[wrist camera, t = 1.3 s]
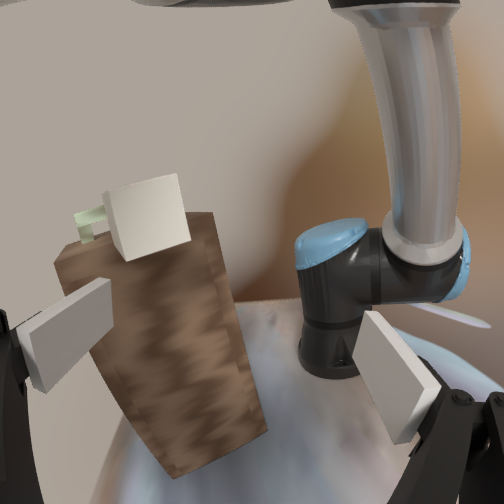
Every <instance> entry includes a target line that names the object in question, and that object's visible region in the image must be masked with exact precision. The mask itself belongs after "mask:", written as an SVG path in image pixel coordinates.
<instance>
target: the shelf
mask: <svg viewBox="0 0 504 504" xmlns="http://www.w3.org/2000/svg"><path fill="white" fill-rule="evenodd" d="M74 215H75V220H76V224H77V228H78V231H79V235H80V239H81V240H80V241H77V242H74V243H71V244H68V245H66V246H65V248H64V249H63V250H62V252H61V253H60V255H59V256H58V257H57V259H56V260H55V262H54V265H55V268H56V271H57V275H58V278H59V281H60V283H61V286H62V289H63V292H64V294H65V297H66V296H68V295H70V294H71V293H73V292H75V291H76V290H78V289H80V288H81V287H83V286H85V285H87V284H88V283H90V282H92V281H93V280H95V279H97V278H99V277H101V278H106V279H111V294H112V310H113V323H114V326H113V327H112V328H111V329H110V330H109V331H108V332H107V333H106V334H105V335H104V336H103V337H102V338H101V339H100V340H99V341H98V342H97V343H96V344H95V345H94V346H93V347H92V348H91V349H90V350H89V352H90V354H91V356H92V358H93V360H94V362H95V364H96V366H97V368H98V370H99V372H100V373H101V375H102V377H103V379H104V381H105V383H106V384H107V386H108V388H109V390H110V391H111V393H112V395H113V396H114V398H115V400H116V401H117V403H118V405H119V406H120V408H121V409H122V411H123V413H124V414H125V416H126V417H127V419H128V420H129V422H130V423H131V425H132V426H133V428H134V429H135V431H136V432H137V433H138V435H139V436H140V438H141V439H142V441H143V442H144V443H145V445H146V446H147V447H148V449H149V450H150V451H151V453H152V454H153V455H154V457H155V458H156V459H157V460H158V462H159V463H160V464H161V465H162V467H163V468H164V469H165V470H166V472H167V473H168V474H169V475H170V476H171V478H172V479H175V478H177V477H180V476H182V475H184V474H187V473H189V472H191V471H193V470H195V469H198V468H200V467H202V466H204V465H206V464H208V463H210V462H212V461H214V460H216V459H218V458H220V457H222V456H224V455H226V454H228V453H230V452H231V451H233V450H235V449H237V448H239V447H241V446H242V445H244V444H246V443H248V442H249V441H251V440H253V439H255V438H256V437H258V436H260V435H261V434H263V433H265V432H266V431H268V430H267V426H266V423H265V419H264V416H263V412H262V409H261V405H260V402H259V398H258V394H257V391H256V387H255V383H254V380H253V376H252V372H251V368H250V365H249V361H248V357H247V353H246V349H245V346H244V342H243V338H242V334H241V330H240V326H239V322H238V318H237V314H236V310H235V306H234V302H233V298H232V294H231V290H230V286H229V282H228V277H227V273H226V269H225V264H224V260H223V256H222V252H221V247H220V243H219V239H218V234H217V230H216V225H215V221H214V216H213V213H212V212H185V215H186V220H187V224H188V229H189V233H190V237H191V241H188V242H185V243H182V244H178V245H175V246H172V247H169V248H166V249H163V250H160V251H157V252H154V253H151V254H148V255H145V256H142V257H139V258H136V259H133V260H130V261H127V262H126V260H125V259H124V258H123V256H122V255H121V254H120V252H119V251H118V249H117V248H116V247H115V245H114V242H113V238H112V235H111V231H107V232H104V233H101V234H98V235H95V236H93V232H92V228H91V224H92V223H94V222H97V221H101V220H104V219H107V215H106V211H105V207H104V205H102V206H99V207H96V208H93V209H89V210H86V211H83V212H80V213H77V214H74Z"/></svg>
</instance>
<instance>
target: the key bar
mask: <svg viewBox="0 0 504 504" xmlns="http://www.w3.org/2000/svg"><path fill="white" fill-rule="evenodd" d="M102 198H103V202H104V207H105V211H106V215H107V219H108V223H109V227H110V231H111V235H112V238H113V242H114V245H115V247H116V248H117V249H118V251H119V252H120V254H121V255H122V256H123V258H124V259H125V260H126V262H127V261H130V260H133V259H136V258H139V257H142V256H145V255H148V254H151V253H154V252H157V251H160V250H163V249H166V248H169V247H172V246H175V245H178V244H182V243H185V242H188V241H191V237H190V233H189V229H188V224H187V220H186V215H185V211H184V206H183V202H182V197H181V192H180V188H179V182H178V177H177V173H174V174H169V175H165V176H161V177H157V178H153V179H149V180H144V181H141V182H137V183H133V184H129V185H125V186H122V187H118V188H114V189H111V190H108V191H107V192H105V193H104V194H102Z"/></svg>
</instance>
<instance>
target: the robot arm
mask: <svg viewBox="0 0 504 504" xmlns="http://www.w3.org/2000/svg"><path fill="white" fill-rule="evenodd" d="M20 1H24V0H0V6H4V5H8V4H12V3H16V2H20ZM132 1H134V2H137V3H139V4H143V5H149V6H164V7H229V6H250V5H264V4H275V3H281V2H288V1H292V0H132ZM328 1H329V4H330V7H331V9H332V11H333V12H334V13H336V14H338V15H340V16H341V17H343V18H345V19H347V20H348V21H350V22H352V23H353V24H354V25H355V27H356V28H357V31H358V34H359V37H360V41H361V44H362V47H363V50H364V54H365V57H366V61H367V64H368V68H369V72H370V76H371V79H372V84H373V88H374V92H375V97H376V101H377V106H378V110H379V116H380V121H381V126H382V132H383V138H384V144H385V151H386V157H387V166H388V173H389V182H390V193H391V204H392V209H391V210H390V211H389V213H388V214H387V215H386V217H385V219H384V222H383V227H380V228H368V227H369V226H368V223H367V222H366V220H365V219H363V218H346V219H341V220H336V221H332V222H328V223H325V224H322V225H319V226H316V227H314V228H311V229H309V230H307V231H306V232H304V233H303V234H301V235H300V236H299V237H298V238H297V240H296V242H295V256H296V265H295V268H296V269H297V274H298V280H299V287H300V293H301V300H302V307H303V313H304V324H303V329H302V337H301V339H300V341H299V346H298V352H299V359H300V363H301V365H302V366H303V368H304V369H305V370H307V371H308V372H309V373H311V374H313V375H315V376H318V377H321V378H326V379H345V378H351V377H354V376H357V375H360V374H361V376H362V378H363V380H364V382H365V384H366V386H367V388H368V391H369V393H370V395H371V397H372V399H373V401H374V403H375V405H376V407H377V409H378V412H379V414H380V416H381V418H382V420H383V422H384V424H385V427H386V429H387V431H388V433H389V435H390V438H391V440H392V442H393V444H394V445H396V444H402V443H407V442H411V440H412V439H413V437H414V435H415V434H416V432H417V431H418V433H419V435H420V437H421V438H420V440H419V441H418V443H417V444H416V446H415V447H414V449H413V450H412V452H411V453H410V454H409V457H411V458H410V460H409V463H408V465H407V467H406V469H405V471H404V473H403V475H402V477H401V479H400V481H399V483H398V485H397V487H396V488H395V490H394V492H393V494H392V496H391V498H390V499H389V501H388V503H387V504H456V501H457V498H458V494H459V504H504V393H503V392H492V393H490V395H489V397H488V398H487V400H486V402H475V401H474V399H473V397H472V396H471V395H470V394H468V393H467V392H465V391H463V390H459V389H450V387H449V386H448V385H447V384H446V383H445V381H444V380H443V379H442V378H441V377H440V375H439V374H437V372H436V371H435V370H434V369H433V367H432V366H431V365H430V364H429V363H428V361H426V360H425V359H423V358H422V357H420V356H416V355H415V353H414V352H413V351H412V350H411V349H410V348H409V346H408V345H407V344H406V343H405V342H404V341H403V339H402V338H401V337H400V336H399V335H398V334H397V332H396V331H395V330H394V329H393V328H392V327H391V326H390V324H389V323H388V322H387V321H386V320H385V319H384V318H383V317H382V315H381V314H380V313H379V312H378V311H372V305H380V304H405V303H425V302H432V303H439V302H442V301H447V300H452V299H455V298H457V297H458V296H459V295H460V294H461V293H462V291H463V290H464V288H465V286H466V283H467V280H468V277H469V272H470V269H469V263H470V262H471V249H470V241H469V238H468V234H467V231H466V230H465V228H464V227H463V226H462V225H461V222H460V220H459V218H458V217H457V215H456V210H457V201H458V192H459V181H460V165H461V110H460V109H461V108H460V94H459V82H458V73H457V66H456V58H455V52H454V47H453V41H452V36H451V31H450V26H449V23H450V20H451V18H452V17H453V16H454V15H455V14H456V12H457V11H458V10H459V9H460V7H461V5H460V1H459V0H328ZM113 326H114V323H113V310H112V294H111V279H106V278H101V277H99V278H97V279H95V280H93V281H92V282H90V283H88V284H87V285H85V286H83V287H81V288H80V289H78V290H76V291H75V292H73V293H71V294H70V295H68V296H66V297H65V298H63V299H61V300H60V301H58V302H56V303H55V304H53V305H52V306H50V307H48V308H47V309H45V310H43V311H40V312H38V313H37V314H35V315H34V316H33V317H31V318H29V319H28V320H27V321H24V322H23V323H21V324H19V325H18V326H16V327H15V328H13V329H12V330H9V325H8V321H7V316H6V312H5V311H4V310H2V309H0V504H44V502H43V498H42V494H41V490H40V486H39V482H38V477H37V473H36V468H35V463H34V457H33V451H32V444H31V437H30V428H29V417H28V403H27V386H26V383H25V379H27V377H29V376H30V379H31V382H32V385H33V388H35V389H37V390H39V391H41V392H43V393H45V394H47V393H48V392H49V391H50V390H51V389H52V388H53V387H54V386H55V384H56V383H57V382H58V381H59V380H60V379H61V378H62V377H63V376H64V375H65V374H66V373H67V372H68V371H69V370H70V369H71V368H72V367H73V366H74V365H75V364H76V363H77V362H78V361H79V360H80V359H81V358H82V357H83V356H84V355H85V354H86V353H87V352H88V351H89V350H90V349H91V348H92V347H93V346H94V345H95V344H96V343H97V342H98V341H99V340H100V339H101V338H102V337H103V336H104V335H105V334H106V333H107V332H108V331H109V330H110V329H111V328H112V327H113ZM489 443H490V445H489V448H488V444H489Z"/></svg>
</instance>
